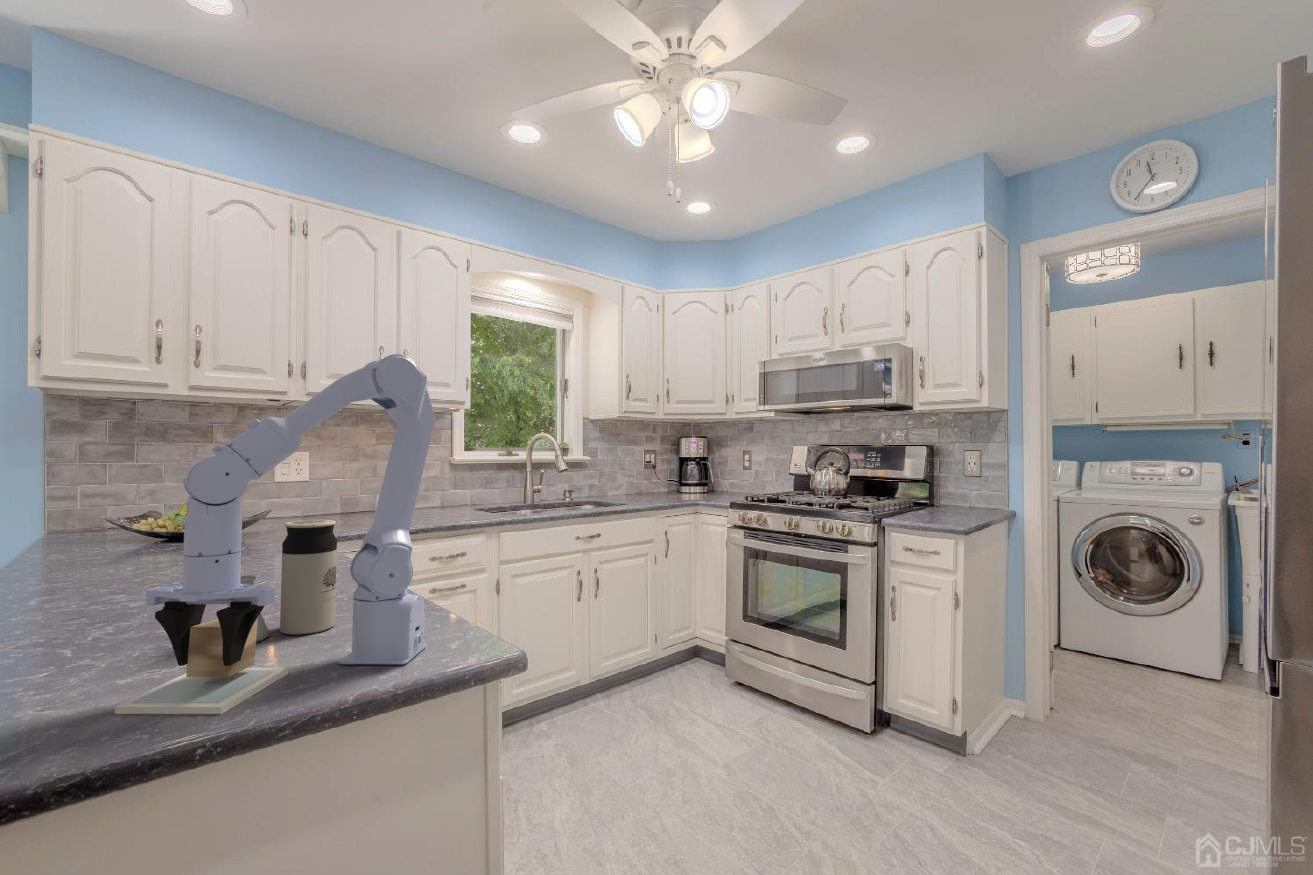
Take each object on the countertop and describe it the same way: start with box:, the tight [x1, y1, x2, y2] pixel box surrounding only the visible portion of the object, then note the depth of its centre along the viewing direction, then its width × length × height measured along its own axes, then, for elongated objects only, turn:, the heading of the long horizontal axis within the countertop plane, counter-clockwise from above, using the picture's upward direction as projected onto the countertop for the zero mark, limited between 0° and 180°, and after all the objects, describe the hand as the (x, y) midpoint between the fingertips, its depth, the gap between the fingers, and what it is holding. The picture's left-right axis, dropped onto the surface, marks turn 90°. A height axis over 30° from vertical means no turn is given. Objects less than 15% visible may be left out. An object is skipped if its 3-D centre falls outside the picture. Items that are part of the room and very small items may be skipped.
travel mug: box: [279, 519, 338, 636], centre depth 97 cm, size 8×8×18 cm
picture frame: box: [114, 667, 289, 715], centre depth 71 cm, size 12×12×1 cm
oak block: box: [186, 618, 258, 677], centre depth 74 cm, size 5×5×6 cm
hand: (209, 662), depth 71 cm, fingers closed on oak block, 5 cm apart
